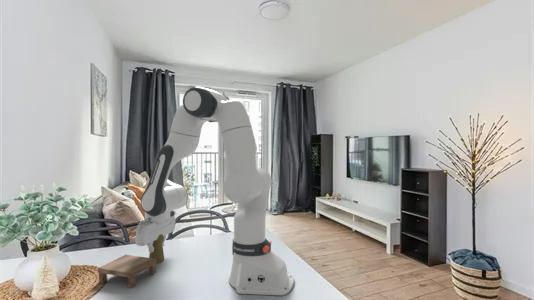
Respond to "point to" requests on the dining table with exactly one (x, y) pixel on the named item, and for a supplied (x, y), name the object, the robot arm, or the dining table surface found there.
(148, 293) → the dining table surface
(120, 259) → the walnut stand
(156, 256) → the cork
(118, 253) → the dining table surface
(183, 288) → the dining table surface
